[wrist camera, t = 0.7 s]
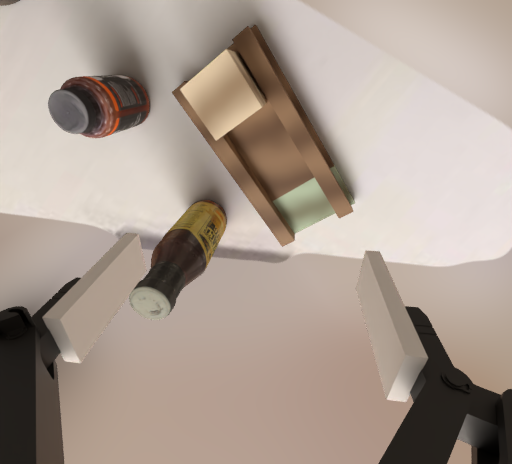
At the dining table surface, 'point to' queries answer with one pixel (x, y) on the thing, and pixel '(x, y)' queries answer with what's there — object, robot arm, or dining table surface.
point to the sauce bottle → (179, 259)
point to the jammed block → (224, 93)
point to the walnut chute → (277, 150)
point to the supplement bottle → (99, 105)
